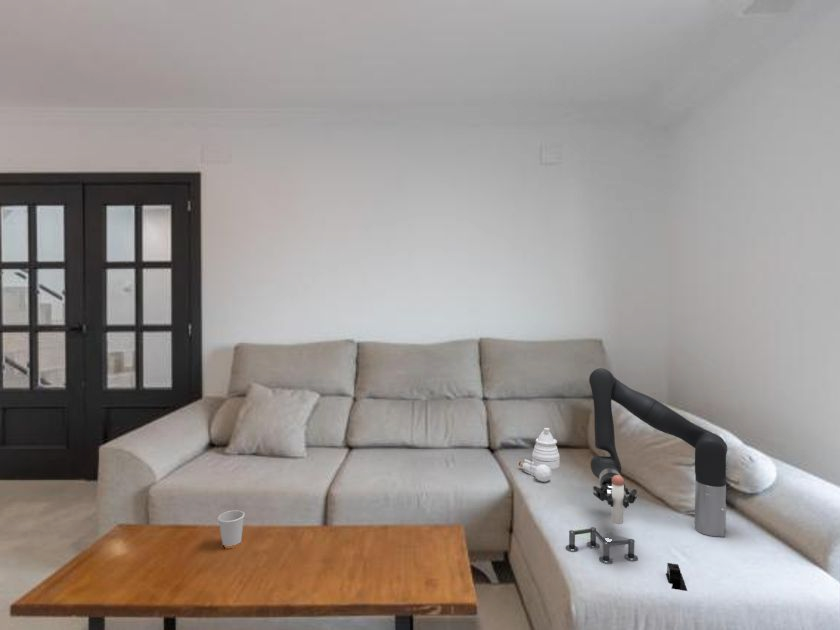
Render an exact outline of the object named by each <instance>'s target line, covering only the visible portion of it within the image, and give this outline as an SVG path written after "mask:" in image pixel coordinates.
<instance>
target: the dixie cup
mask: <svg viewBox="0 0 840 630" xmlns="http://www.w3.org/2000/svg"><path fill="white" fill-rule="evenodd" d="M245 515H246V514H245V512H244V511H242V510H237V509H235V510H233V509H232V510H228V511H225V512H222V513H221V514H219V515H218V516H217V520H218V525H219V530H220V539H221V543H222V546H223V545H226V546H232V545H236V544H238V543H240V542H241V543H242V539H243V538H242V537H243V528H244V518H245Z"/></svg>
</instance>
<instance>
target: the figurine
mask: <svg viewBox="0 0 840 630" xmlns="http://www.w3.org/2000/svg"><path fill="white" fill-rule="evenodd" d="M533 464H534V463H533V462H532V460H529V459H526V458H525V459H524V462H523V461H519V463H518V466H519V467H521V468H522V469H523V470H524V472H525V473H527V474H529V475H531V476H532V477H533V476H534V478H536V480H538V481H539V482H542V483H546V482H548V481H549V480H550V479H551V477H552V469H550V468H549V467H548V466H546V465H539V466H537V467H536V466H534V465H533Z"/></svg>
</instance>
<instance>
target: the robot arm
mask: <svg viewBox="0 0 840 630" xmlns="http://www.w3.org/2000/svg"><path fill="white" fill-rule="evenodd" d="M588 383H589V386H590V389H591V394H592V401H593V408H594V409H593V412H594V413H593V414H594V416H593V417H594V419H593V420H594V421H593V422H594V423H593V424H594V426H593V427H594V428H593V429H594V446H595V448H596V449H597V450H602V451H605V452H607V453H608V454H609V456H601V455H599V456H598V455H597V456H593V457H592V459H591V461H590V470H591V472H592V474H593V475H594V476H595V477H596V478H597V479H599V486H600V487H598V486H596V485H594V486H593V487H592V494H593V495H594V497H596V498H597V499H598V500H599V501H601V502H605V501H606V503H607V505H609V506H610V507H611V508H612V507H613V498H612V478H613V476H615V475H620V476H621V477H622V475H621V474H622V469H623V467H622V464H621V461H620V459H619V456H618V452H617V447H616V440H615V424H614V417H613V411H612V410H613V409H612V401H613V402H615V403H617V404H619V405H620V406H621V407H623V408H624V409H626V410H627V411H628V412H629V413H631V414H632V415H633V416H634V417H636V418H637V419H639V420H640V421H641V422H644V423H645V424H646V425H648V426H650V427H652V428H653V429H654V430H655V429H656V430H657V431H659V432H662V433H665V434H668V435H670V436H673V437H675V438H678V439H679V440H680V439H681V441H684V442H685V443H687V444H688V445H690V446H692V448H693V449H694V474H695V475H694V477H695V483H694V484H695V486H694V491H695V492H694V529H695V530H696V531H697V532H698V533H700V534H703V535H706V536H710V537H720V538H721V537H722V538H724V537H725V534H726V529H727V528H726V527H727V524H726V522H727V504H726V503H727V502H726V501H727V453H728V444H727V443H726V441H725V440H724V438H723V437H721V436H720V435H718V434H716V433H714V432H712V431H710V430H707V429H705V428H704V427H701V426H699V425H697V424H696V423H693V422H691V421H690V420H689V419H687V418H685V417H684V416H683V415H681V414H679V413H677V412H676V411H674V410H673V409H671V408H670V407H668V406H667V405H666V404H664V403H662V402H660V401H658V400H657V399H655V398H653V397H651V396H649V395H647V394H644V393H642V392H639V391H637V390H634V389H632V388H630V387H629V386H627V385H626V384H624V382H623V383H622V382H621V381H620V380H619V379H617V378H616V377H615V376H614V375H613V374H612V372H611V371H610V370H609V369H606V368H604V367H603V368H601V367H600V368H596V369H594V370H593V371H592V372H591V373H590V375H589V378H588ZM637 496H638V490H637V489H632V490H629V489H628V488H627V487H626V485H625V483H624V500H623V505H624V507H623V509H628V508H629V507H630V504H634V502H635V501H636V500H637V498H638V497H637Z"/></svg>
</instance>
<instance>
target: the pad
mask: <svg viewBox="0 0 840 630" xmlns="http://www.w3.org/2000/svg"><path fill="white" fill-rule="evenodd" d="M583 529H589V528H588V527H584V526H581V525H576V526H575V527H574V528H573V529H572V530H573V531H576V530H583ZM596 531H597V532H598V533H599V534H600V531H599V530H596ZM575 538H581V539H583V540H587V541H590V533H584V534H577V535H575Z"/></svg>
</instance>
